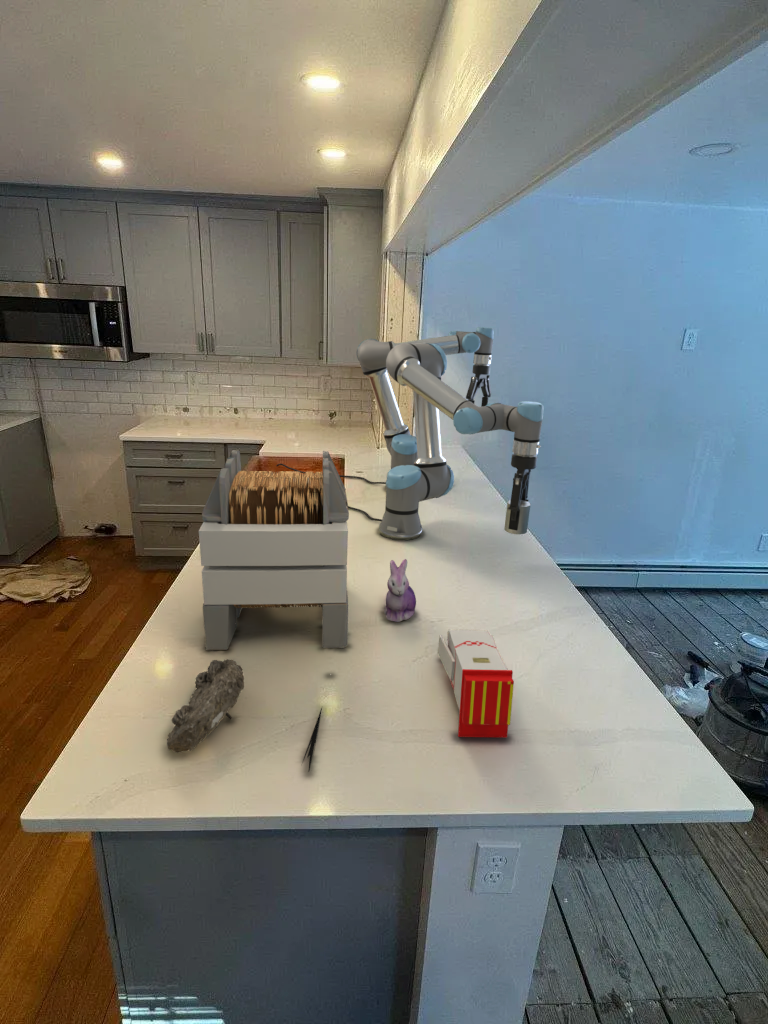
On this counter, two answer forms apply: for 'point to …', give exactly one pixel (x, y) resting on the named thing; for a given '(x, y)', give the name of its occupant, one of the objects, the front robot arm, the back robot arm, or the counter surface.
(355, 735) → the counter surface
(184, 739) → the fossil
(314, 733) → the feather
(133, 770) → the counter surface
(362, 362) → the back robot arm
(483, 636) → the toy
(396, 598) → the figurine
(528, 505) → the can
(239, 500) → the record crate
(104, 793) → the counter surface
